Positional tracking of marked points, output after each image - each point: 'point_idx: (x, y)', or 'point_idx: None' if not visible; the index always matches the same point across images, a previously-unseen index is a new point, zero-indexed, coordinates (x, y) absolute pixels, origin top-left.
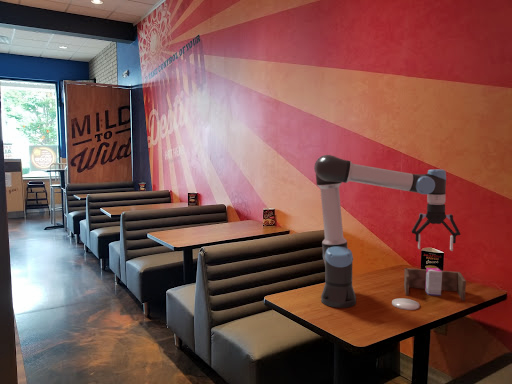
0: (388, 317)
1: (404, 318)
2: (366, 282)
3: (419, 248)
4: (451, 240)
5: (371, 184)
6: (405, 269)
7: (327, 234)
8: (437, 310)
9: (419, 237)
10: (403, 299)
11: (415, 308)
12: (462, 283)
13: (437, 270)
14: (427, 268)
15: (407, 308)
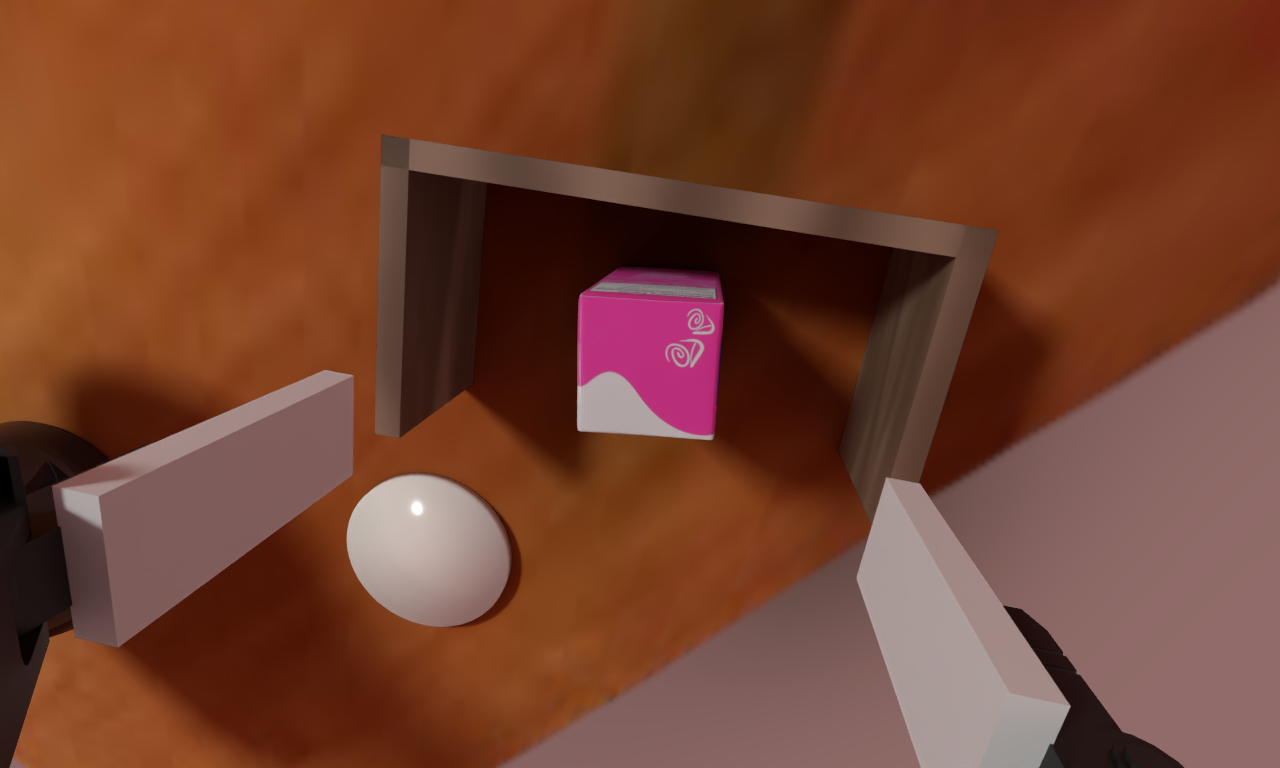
0: (330, 707)
1: (407, 716)
2: (164, 94)
3: (334, 478)
4: (916, 745)
5: None
6: (386, 193)
7: None
8: (606, 619)
9: (152, 604)
10: (420, 496)
11: (478, 613)
12: (869, 509)
13: (674, 401)
14: (581, 332)
15: (430, 623)
